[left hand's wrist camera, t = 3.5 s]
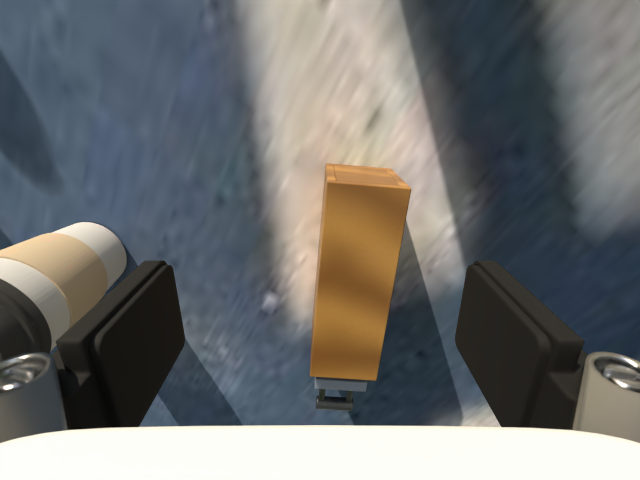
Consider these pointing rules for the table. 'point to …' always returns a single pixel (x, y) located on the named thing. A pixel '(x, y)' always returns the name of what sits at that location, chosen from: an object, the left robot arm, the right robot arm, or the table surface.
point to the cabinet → (356, 269)
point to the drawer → (337, 384)
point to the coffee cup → (54, 284)
